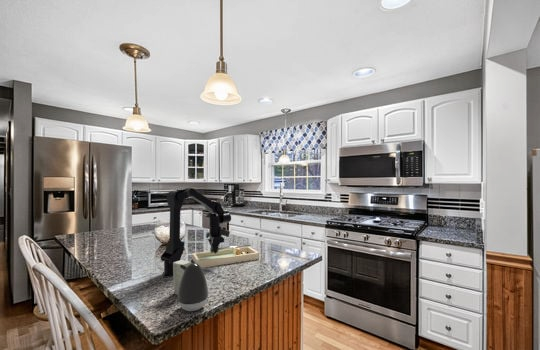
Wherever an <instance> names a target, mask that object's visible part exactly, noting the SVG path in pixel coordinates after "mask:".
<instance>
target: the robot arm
mask: <svg viewBox="0 0 540 350" xmlns="http://www.w3.org/2000/svg"><path fill="white" fill-rule="evenodd" d="M188 198H191V199H192V200H194V201H196V202H197V203H198V204H201V205H202V206H203V207H204V208H205V210H207V212H208V214H207V215H205V217H206V218H208V219H209V221H208V223H209V226H208V229H209V231H207V232H206V233H205V238H207V242H208V243H209V246H210V247H212V248H213V251H214V253H217V250H218V248H219V245H220V244H221V243H222V244H223V243H225V238H224V237H227V238H229V236H230V233H231V231H230V230H228V229H227V227H224V226H222V227H221V224H225V223H230V222H231V221H232V215H231V213H230V211H228V210H224V208H223V207H222V204H221V203H220V202H219V201H216V200H211V199H210V198H208V197H207V196H205V195H204V194H203V193H201V192H199V191H198V190H196V189H195V188H194V187H187V188H183V189H180V190H170V191H168V193H166V203H167V205H168V207H169V238H168V241H167V243H166V245H165V250H164V251H163V252H162V254H161V256H160V258H159V259H160V260H161V262H163V271H162V277H163V278H167V277H169V278H170V277H173V262H176V261H179V260H182V255H183V253H184V251H185V241H182V240H181V209H182V207H183V205H184V204H185V200H186V199H188ZM223 236H224V237H223Z"/></svg>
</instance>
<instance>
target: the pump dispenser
mask: <svg viewBox="0 0 540 350" xmlns="http://www.w3.org/2000/svg"><path fill="white" fill-rule="evenodd" d="M180 268H182V269H183V270H184V273H183V275H182V278H181V281H180V285H179V291H178V294H177V301H178V303H179V307H181V308H182V309H183V310H184V311H186V312H195V311H199V310H200V309H202V308H203V307H204V306H205V304H206V303H207V301H208V297H209V287H208V281H207V277H206V275H205V272H204V270H203V268H201V267H200V265H198V264H196V263H194V262H193V263H192V262H191V264H190V265H188V266H187V267H186V266H184V265H180Z"/></svg>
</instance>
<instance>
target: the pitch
mask: <svg viewBox="0 0 540 350" xmlns="http://www.w3.org/2000/svg"><path fill="white" fill-rule="evenodd" d="M237 249H239V250H241V253H242V254H240V255H236V256H233V255H232V249H225V250H218V252H217V253H211V252H210V250H209V251H202V252H193V253H192V260H193V263H196V264H198V265H200V267H201V268H202V269H203V268H204V269H205V268H209V267H216V266H222V265H228V264H237V263H243V262H248V261H249V260H250V261H255V260H256V259H257V260H260V252H258V251H257V250H256V249H254V248H252V247H251V246H249V247H241V248H236V250H237ZM247 252H248V253H247ZM242 261H243V262H242ZM250 261H249V262H250ZM236 262H237V263H236Z"/></svg>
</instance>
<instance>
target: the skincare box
mask: <svg viewBox="0 0 540 350" xmlns="http://www.w3.org/2000/svg"><path fill="white" fill-rule="evenodd" d="M190 264H192V261H189V260H185V259H180V260H179V261H176V262H173V276H172V277H173V294H175V295H178V291H179V285H180V281H181V278H182V275H183V273H184V270H183V269H182V268H180V265H184V266H186V267H187V266H188V265H190Z"/></svg>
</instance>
